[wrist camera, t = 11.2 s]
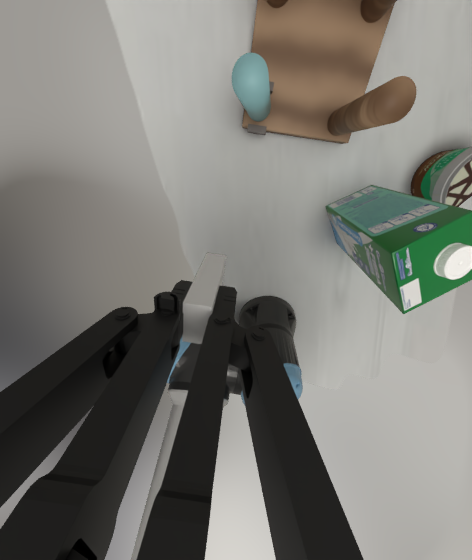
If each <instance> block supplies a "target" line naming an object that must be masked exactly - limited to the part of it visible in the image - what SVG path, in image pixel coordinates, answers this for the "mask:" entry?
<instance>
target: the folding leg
mask: <svg viewBox="0 0 472 560" xmlns="http://www.w3.org/2000/svg"><path fill="white" fill-rule="evenodd" d="M232 86H233V89H234V91H235V93H236V95H237V97H238V98H239V100H240V102H241V103H242V105H243V106H244V108H245V110H246V111H247V113H248V115H249V116H250V118H251V119H252V120H254V121H257V122H259V121H263V120H264V119H266V118H267V116H268V115H269V113H270V109H271V100H270V86H269V73H268V67H267V64H266V62H265V60H264V59H263V58H262V57H261V56H260V55H258V54H256V53H246V54H244V55H243V56H241V57H240V58H239V59H238V60H237V62H236V64H235V66H234V68H233V72H232Z"/></svg>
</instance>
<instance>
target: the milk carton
mask: <svg viewBox="0 0 472 560" xmlns="http://www.w3.org/2000/svg"><path fill="white" fill-rule="evenodd" d="M326 209H327V212H328V215H329V219H330V222H331V225H332V228H333V232H334V235H335V238H336V241H337V244H338V245H339V246H340V247H341V248H342V249H343V250H344V251H345V252H346V253H347V254H348V256H349V257H350V258H351V259H352V260H353V261H354V262H355V263H356V264H357V265H358V266H359V267H360V268H361V269H362V270H363V271H364V273H365V274H366V275H367V276H368V277H369V278H370V279H371V280H372V281H373V282H374V283H375V284H376V285H377V286H378V287H379V289H380V290H381V291H382V292H383V293H384V294H385V295H386V296H387V297H388V298H389V299H390V300H391V301H392V302H393V303H394V304H395V306H396V307H397V308H398V309H399V310H400V311H401V312H402V313H403V314H405V313H407V312H409V311H411V310H413V309H415V308H417V307H419V306H421V305H423V304H425V303H427V302H429V301H431V300H433V299H435V298H437V297H439V296H441V295H442V294H444V293H446V292H448V291H450V290H452V289H454V288H456V287H458V286H460V285H462V284H464V283H466V282H468V281H470V280H472V211H471V210H467V209H463V208H459V207H455V206H452V205H448V204H444V203H440V202H436V201H432V200H428V199H424V198H420V197H416V196H412V195H409V194H405V193H401V192H397V191H393V190H389V189H385V188H381V187H377V186H373V185H371V186H369V187H367V188H364V189H362V190H360V191H358V192H356V193H354V194H351V195H349V196H347V197H345V198H343V199H341V200H338V201H336V202H334V203H332V204H330V205H328V206H326Z"/></svg>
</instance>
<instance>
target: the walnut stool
mask: <svg viewBox="0 0 472 560" xmlns="http://www.w3.org/2000/svg"><path fill="white" fill-rule="evenodd" d="M396 1H397V0H258V1H257V10H256V18H255V26H254V34H253V42H252V51H251V53H256V54H258V55H260V56H261V57H262V58H263V59H264V60H265V62H266V64H267V67H268V73H269V86H270V100H271V109H270V113H269V115H268V116H267V118H266V119H264V120H263V121H259V122H257V121H254V120H252V119H251V118H250V116H249V115H248V113H247V111H246V110H245V108H244V116H243V125H242V127H243V128H245V129H247V132H249V133H256V134H262V135H265V134H266V132H270V133H277V134H283V135H290V136H296V137H302V138H309V139H315V140H322V141H328V142H335V143H341V144H343V143H348V142H349V139H350V136H351V133H352V132H356V131H360V130H364V129H369V128H373V127H377V126H382V125H386V124H390V123H394V122H397V121H399V120H401V119H402V118H403V117H404V116H406V115H407V113H408V112H409V111H410V110H411V108H412V106H413V104H414V101H415V98H416V86H415V83H414V82H413V80H412V79H410V78H409V77H406V76H400V77H396V78H394V79H392V80H390V81H388V82H387V83H385V84H383V85H381V86H379V87H377V88H376V89H374V90H372V91H370V92H368V93H366V94H365V91H366V88H367V85H368V81H369V78H370V75H371V72H372V69H373V66H374V63H375V60H376V57H377V54H378V51H379V48H380V45H381V42H382V39H383V36H384V33H385V30H386V27H387V24H388V21H389V18H390V15H391V12H392V9H393V6H394V3H395V2H396ZM364 94H365V95H364Z"/></svg>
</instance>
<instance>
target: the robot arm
mask: <svg viewBox="0 0 472 560" xmlns="http://www.w3.org/2000/svg"><path fill="white" fill-rule="evenodd" d="M225 263H226V255H220V254H213V253H207V254H206V256H205V258H204V260H203V262H202V264H201V266H200V268H199V270H198V272H197V274H196V276H195V279H194V281H193V282H190V281H183V280H181V281H180V282H178V283H177V284H176V285H175V287H174V288H173V290H172V292H162V293H159V294H157V295H156V296H155V297H154V305H155V311H154V312H153V313H148V314H138V313H137V311H136V310H135V309H134V308H131V307H121V308H118V309H115V310H113V311H112V312H110V313H109V314H108V315H106V316H105V317H103V318H102V319H101V320H99V321H98V322H96V323H95V324H94V325H92V326H91V327H90V328H88V329H87V330H85V331H84V332H83V333H81V334H80V335H79V336H77V337H76V338H74V339H73V340H72V341H70V342H69V343H68V344H66V345H65V346H64V347H62V348H61V349H59V350H58V351H56V352H55V353H54V354H52V355H51V356H50V357H48V358H47V359H46V360H44V361H43V362H41V363H40V364H39V365H37V366H36V367H35V368H33V369H32V370H30V371H29V372H28V373H26V374H25V375H23V376H22V377H21V378H19V379H18V380H17V381H15V382H14V383H12V384H11V385H10V386H8V387H7V388H6V389H4V390H3V391H1V392H0V507H1V506H2V505H3V504H4V503H5V502H6V501H7V500H8V499H9V498H10V497H11V495H12V494H13V493H14V492H15V491H16V490H17V489H18V488H19V487H20V485H22V483H23V482H24V481H25V480H26V479H27V478H28V477H29V476H30V475H31V474H32V472H33V471H34V470H35V469H36V468H37V467H38V466H39V465H40V464H41V462H43V460H44V459H45V458H46V457H47V456H48V455H49V454H50V453H51V452H52V451H53V449H54V448H55V447H56V446H57V445H58V444H59V443H60V442H61V441H62V440H63V438H64V437H65V436H66V435H67V434H68V433H69V432H70V431H71V430H72V429H73V428H74V426H75V425H76V424H77V423H78V422H79V421H80V420H81V419H82V418H83V417H84V416H85V415H86V413H87V412H88V411H89V410H90V409H91V408H92V407H93V406H94V407H93V408H92V410H91V411H90V413H89V414H88V416H87V418H86V419H85V421H84V422H83V424H82V426H81V427H80V429H79V430H78V432H77V434H76V435H75V437H74V438H73V440H72V441H71V443H70V444H69V446H68V447H67V449H66V451H65V452H64V454H63V456H62V457H61V459H60V460H59V462H58V463H57V465H56V466H55V467H54V469H53V470H52V471H51V472H50V473H48V474H46V475H45V476H43V477H41V478H39V479H38V480H37V481H36V482H35V483H33V484H32V485H31V486H30V488H29V489H28V490H27V492H26V493H25V494H24V496H23V497H22V498H21V500H20V501H19V503H18V504H17V505H16V507H15V508H14V510H13V512H12V513H11V514H10V516H9V517H8V519H7V520H6V522H5V523H4V525H3V526H2V528H1V529H0V560H104V559H105V556H106V554H107V551H108V548H109V545H110V542H111V539H112V536H113V533H114V529H115V524H116V518H117V513H118V510H119V507H120V504H121V502H122V499H123V496H124V494H125V491H126V489H127V486H128V483H129V480H130V478H131V475H132V473H133V470H134V467H135V465H136V462H137V459H138V457H139V454H140V452H141V449H142V446H143V444H144V441H145V438H146V436H147V433H148V431H149V428H150V425H151V423H152V420H153V417H154V415H155V412H156V409H157V407H158V404H159V402H160V399H161V396H162V394H163V391H164V389H165V386H166V383H170V385H169V388H168V392H167V393H168V394H169V396H170V399H171V401H172V404H173V405H172V409H171V412H170V416H169V420H168V423H167V427H166V431H165V434H164V438H163V442H162V446H161V449H160V453H159V457H158V460H157V464H156V468H155V472H154V476H153V479H152V483H151V487H150V490H149V494H148V498H147V501H146V505H145V509H144V513H143V516H142V521H141V524H140V527H139V531H138V535H137V539H136V542H135V546H134V550H133V554H132V558H131V560H204V559H205V551H206V543H207V535H208V526H209V518H210V510H211V498H212V489H213V481H214V473H215V465H216V457H217V449H218V441H219V433H220V426H221V418H222V410H223V407H224V406H225V405H227V404H228V399H229V393H234V394H239V395H241V397H242V400H243V403H244V404H245V406H246V412H247V417H248V421H249V426H250V431H251V436H252V442H253V447H254V452H255V457H256V462H257V467H258V471H259V477H260V482H261V486H262V492H263V497H264V502H265V507H266V512H267V517H268V522H269V527H270V532H271V537H272V542H273V547H274V552H275V557H276V560H363V557H362V555H361V552H360V550H359V547H358V545H357V543H356V540H355V538H354V535H353V533H352V530H351V528H350V526H349V523H348V521H347V518H346V516H345V513H344V511H343V508H342V506H341V504H340V501H339V499H338V496H337V494H336V491H335V489H334V487H333V484H332V482H331V480H330V477H329V474H328V472H327V470H326V467H325V465H324V462H323V460H322V457H321V455H320V453H319V450H318V448H317V445H316V443H315V440H314V438H313V435H312V433H311V430H310V428H309V426H308V423H307V421H306V419H305V416H304V413H303V411H302V409H301V406H300V404H299V401H298V399H299V398H300V396H301V393H302V379H301V369H300V367H299V363H298V358H297V354H296V349H295V345H294V340H293V336H294V332H295V328H296V317H295V313H294V310H293V309H292V307H291V306H290V305H289V304H288V303H287V302H286V301H284V300H282V299H280V298H277V297H272V296H263V297H258V298H255V299H253V300H251V301H249V302H248V303H247V304H246V305H245V306H244V307H243V308H242V310H241V313H240V318H239V325H240V326H239V325H238V324H237V323H236V322H235V320H234V312H235V304H236V296H237V292H236V290H235V288H233V287H226V286H223V279H224V271H225Z"/></svg>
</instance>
